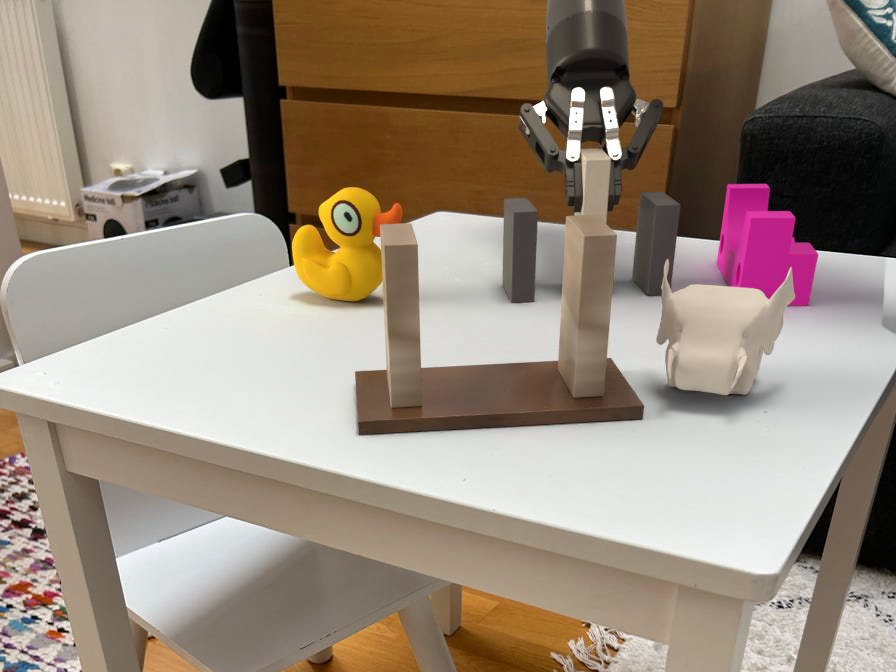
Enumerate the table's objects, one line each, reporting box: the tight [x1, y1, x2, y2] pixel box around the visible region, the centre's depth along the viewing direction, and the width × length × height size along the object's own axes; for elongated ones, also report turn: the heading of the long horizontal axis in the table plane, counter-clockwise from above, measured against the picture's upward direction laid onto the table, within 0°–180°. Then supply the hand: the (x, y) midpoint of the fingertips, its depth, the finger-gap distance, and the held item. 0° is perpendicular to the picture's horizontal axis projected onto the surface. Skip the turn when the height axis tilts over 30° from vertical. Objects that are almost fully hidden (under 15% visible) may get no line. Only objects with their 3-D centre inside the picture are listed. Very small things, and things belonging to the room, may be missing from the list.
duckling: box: [291, 186, 404, 302], centre depth 93 cm, size 11×5×10 cm, turn 67°
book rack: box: [354, 215, 645, 435], centre depth 70 cm, size 20×10×12 cm, turn 94°
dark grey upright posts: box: [501, 191, 681, 304], centre depth 94 cm, size 15×6×8 cm, turn 94°
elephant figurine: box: [655, 259, 795, 396], centre depth 71 cm, size 10×12×9 cm
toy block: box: [716, 183, 819, 307], centre depth 94 cm, size 15×6×8 cm, turn 173°
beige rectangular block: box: [573, 147, 611, 224], centre depth 92 cm, size 2×6×11 cm, turn 179°
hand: (594, 206), depth 90 cm, fingers closed on beige rectangular block, 2 cm apart
